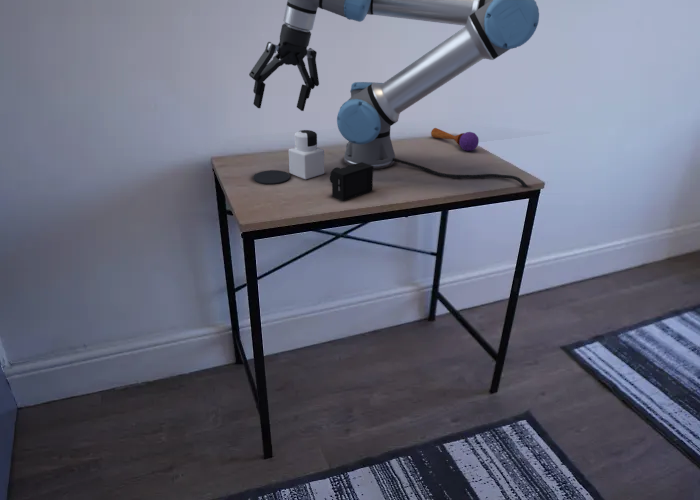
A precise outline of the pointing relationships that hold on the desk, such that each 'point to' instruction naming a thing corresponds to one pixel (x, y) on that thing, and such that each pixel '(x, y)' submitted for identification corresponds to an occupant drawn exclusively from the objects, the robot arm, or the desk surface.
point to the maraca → (459, 138)
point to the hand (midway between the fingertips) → (279, 107)
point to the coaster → (271, 177)
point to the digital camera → (351, 181)
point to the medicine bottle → (306, 156)
